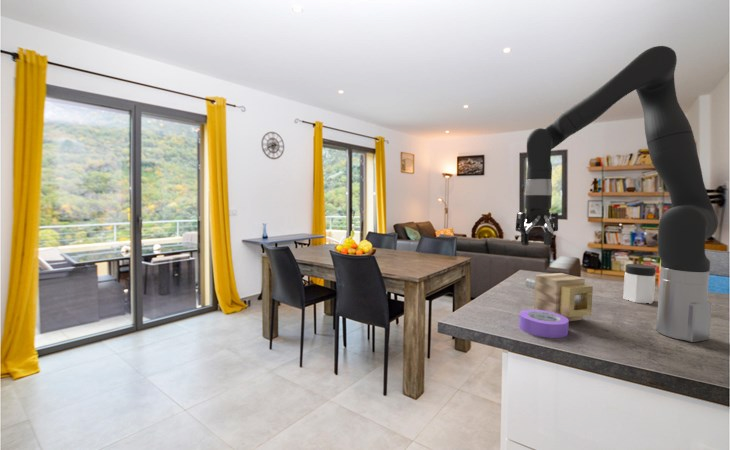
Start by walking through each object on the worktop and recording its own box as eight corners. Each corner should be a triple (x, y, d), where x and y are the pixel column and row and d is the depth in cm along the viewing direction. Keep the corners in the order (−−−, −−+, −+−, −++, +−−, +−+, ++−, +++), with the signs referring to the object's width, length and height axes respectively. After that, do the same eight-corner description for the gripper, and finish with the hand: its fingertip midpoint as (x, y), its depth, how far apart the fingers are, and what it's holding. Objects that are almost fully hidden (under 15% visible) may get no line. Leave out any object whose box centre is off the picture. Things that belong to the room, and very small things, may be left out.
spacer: (591, 314, 98) (592, 286, 98) (568, 317, 96) (570, 288, 95) (581, 311, 101) (583, 283, 100) (559, 313, 99) (560, 285, 98)
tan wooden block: (582, 319, 102) (584, 278, 101) (554, 322, 99) (556, 280, 98) (560, 311, 110) (561, 273, 109) (533, 313, 107) (535, 274, 106)
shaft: (583, 303, 98) (583, 292, 97) (574, 303, 97) (575, 293, 97) (532, 286, 116) (532, 277, 116) (524, 287, 115) (525, 278, 115)
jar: (651, 305, 116) (653, 269, 115) (621, 300, 122) (623, 266, 121) (655, 300, 122) (657, 266, 121) (626, 295, 128) (628, 262, 127)
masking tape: (569, 328, 96) (570, 314, 95) (565, 342, 86) (566, 327, 86) (523, 319, 102) (524, 306, 102) (515, 332, 93) (515, 317, 92)
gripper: (528, 193, 106) (526, 247, 107) (566, 194, 110) (563, 245, 111) (511, 194, 113) (509, 244, 114) (547, 194, 117) (545, 243, 118)
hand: (536, 245), depth 112 cm, fingers open, 8 cm apart
